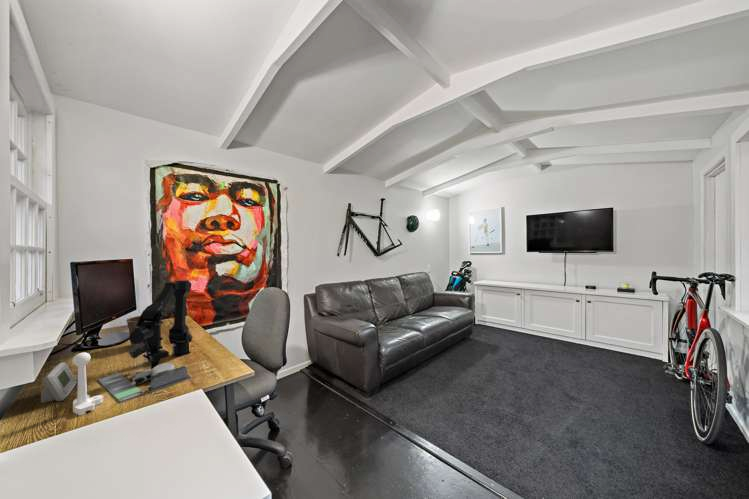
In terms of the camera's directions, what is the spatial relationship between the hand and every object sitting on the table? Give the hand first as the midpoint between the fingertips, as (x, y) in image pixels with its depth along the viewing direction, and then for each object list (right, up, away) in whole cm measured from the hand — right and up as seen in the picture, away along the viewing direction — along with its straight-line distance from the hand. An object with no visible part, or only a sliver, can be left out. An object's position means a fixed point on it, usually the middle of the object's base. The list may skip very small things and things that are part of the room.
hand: (153, 370), depth 125 cm
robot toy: (+5, -2, -5) cm, 7 cm away
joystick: (-2, -2, -26) cm, 26 cm away
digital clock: (-22, -2, -18) cm, 28 cm away
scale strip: (-4, -2, -13) cm, 13 cm away
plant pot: (-34, -1, +35) cm, 49 cm away
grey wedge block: (+15, -1, -10) cm, 18 cm away
